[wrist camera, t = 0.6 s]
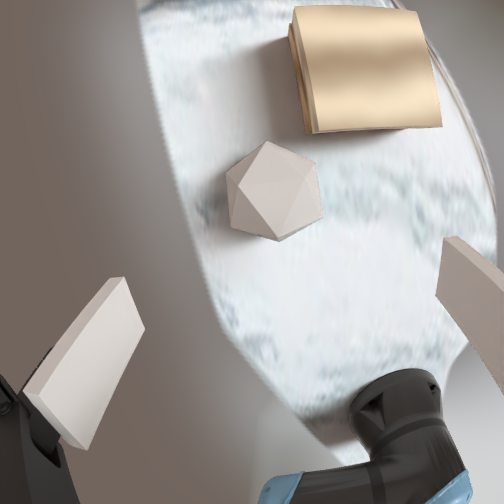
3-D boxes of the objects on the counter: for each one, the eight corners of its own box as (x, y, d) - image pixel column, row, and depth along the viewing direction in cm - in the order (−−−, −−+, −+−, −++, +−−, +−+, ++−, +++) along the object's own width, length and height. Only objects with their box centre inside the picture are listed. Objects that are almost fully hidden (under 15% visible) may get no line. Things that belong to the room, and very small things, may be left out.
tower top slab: (422, 128, 23) (442, 126, 20) (312, 133, 25) (319, 130, 21) (400, 25, 20) (416, 11, 16) (291, 24, 21) (294, 6, 17)
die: (214, 175, 30) (208, 252, 25) (253, 111, 24) (258, 184, 19) (282, 199, 34) (290, 273, 28) (328, 146, 27) (352, 221, 22)
